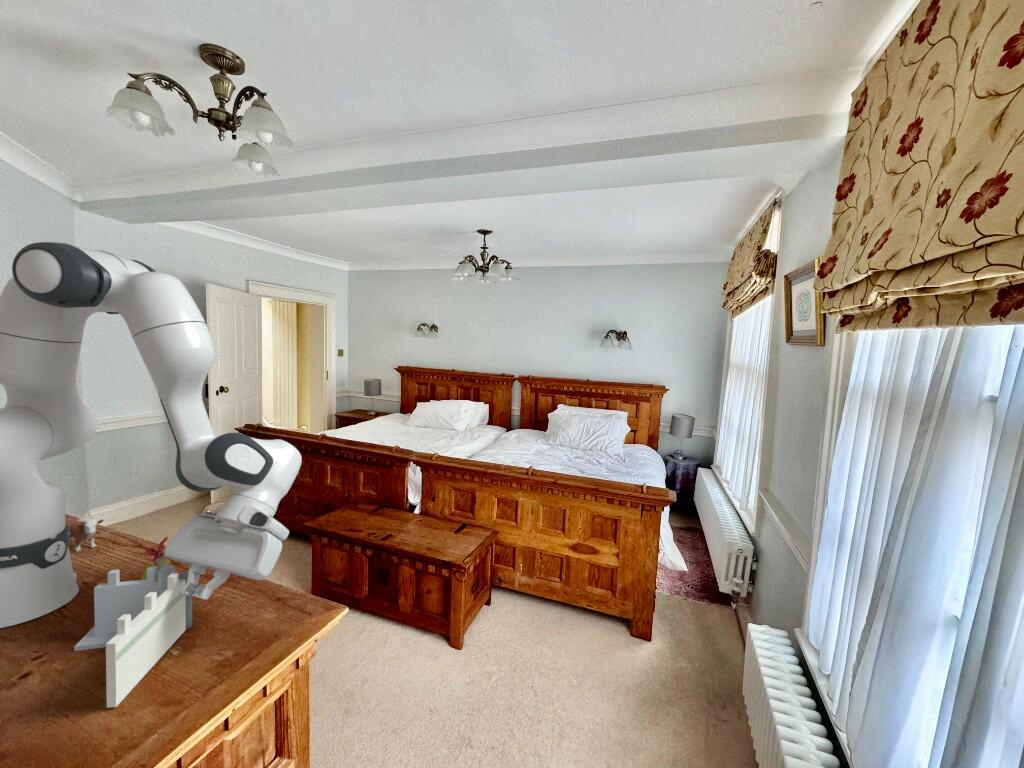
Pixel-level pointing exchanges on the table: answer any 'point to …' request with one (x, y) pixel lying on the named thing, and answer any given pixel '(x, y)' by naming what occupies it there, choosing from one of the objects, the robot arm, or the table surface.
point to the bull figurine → (82, 530)
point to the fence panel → (146, 637)
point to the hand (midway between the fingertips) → (193, 596)
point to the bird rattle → (156, 558)
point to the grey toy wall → (121, 603)
